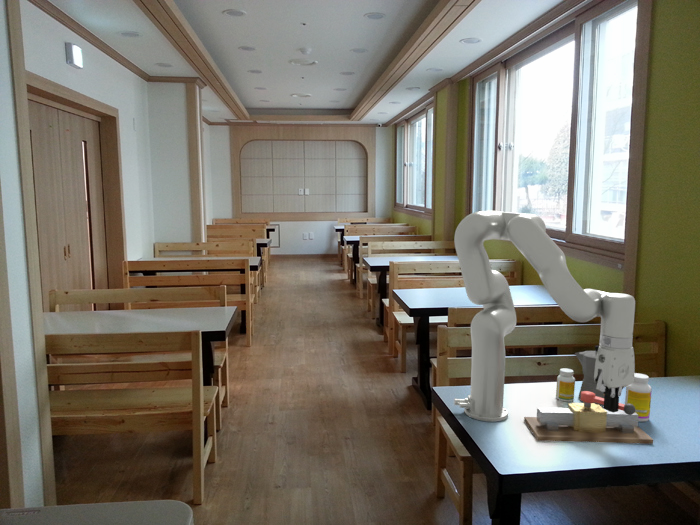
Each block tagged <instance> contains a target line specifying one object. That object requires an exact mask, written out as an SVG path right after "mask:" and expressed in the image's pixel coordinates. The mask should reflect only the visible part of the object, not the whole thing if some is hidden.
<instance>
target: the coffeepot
mask: <svg viewBox="0 0 700 525" xmlns="http://www.w3.org/2000/svg"><path fill="white" fill-rule="evenodd" d="M594 349H595V350H585V351H577V352H575V353H574V356H576V358H577V359H578V361H579V363H580V365H581V367H582V368H581V369H582V374H583V379H582V382H581V386H580V389H579V393H578V400H579V401H581V392H582V391H589V392H593V393H595V396H597V397H601V398H604V394H603V392H602V391H599V390H597V389H596V387H597V383H595V380H594V372H595V363H596V357H597V353H598V349H599V345H594ZM607 388H608V387H607ZM594 404H597V405H603V404H599V403H596V402H594ZM603 406H604V405H603Z"/></svg>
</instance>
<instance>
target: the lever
mask: <svg viewBox="0 0 700 525" xmlns="http://www.w3.org/2000/svg"><path fill="white" fill-rule="evenodd" d="M580 401H581V402H582V401H583V402H582V403H584V407H587V408H590V407H591V403H594V402H596V403H599V404H603V406H604V398H601V397H597V396H595V393H593V392H589V391H582V392H581V400H580ZM618 409H619V410H623V411H624V412H625V413H626V414H628V415H632V414H634V413H635V407H634V406H633V405H632V404H625V403H622V402H619V407H618Z"/></svg>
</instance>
